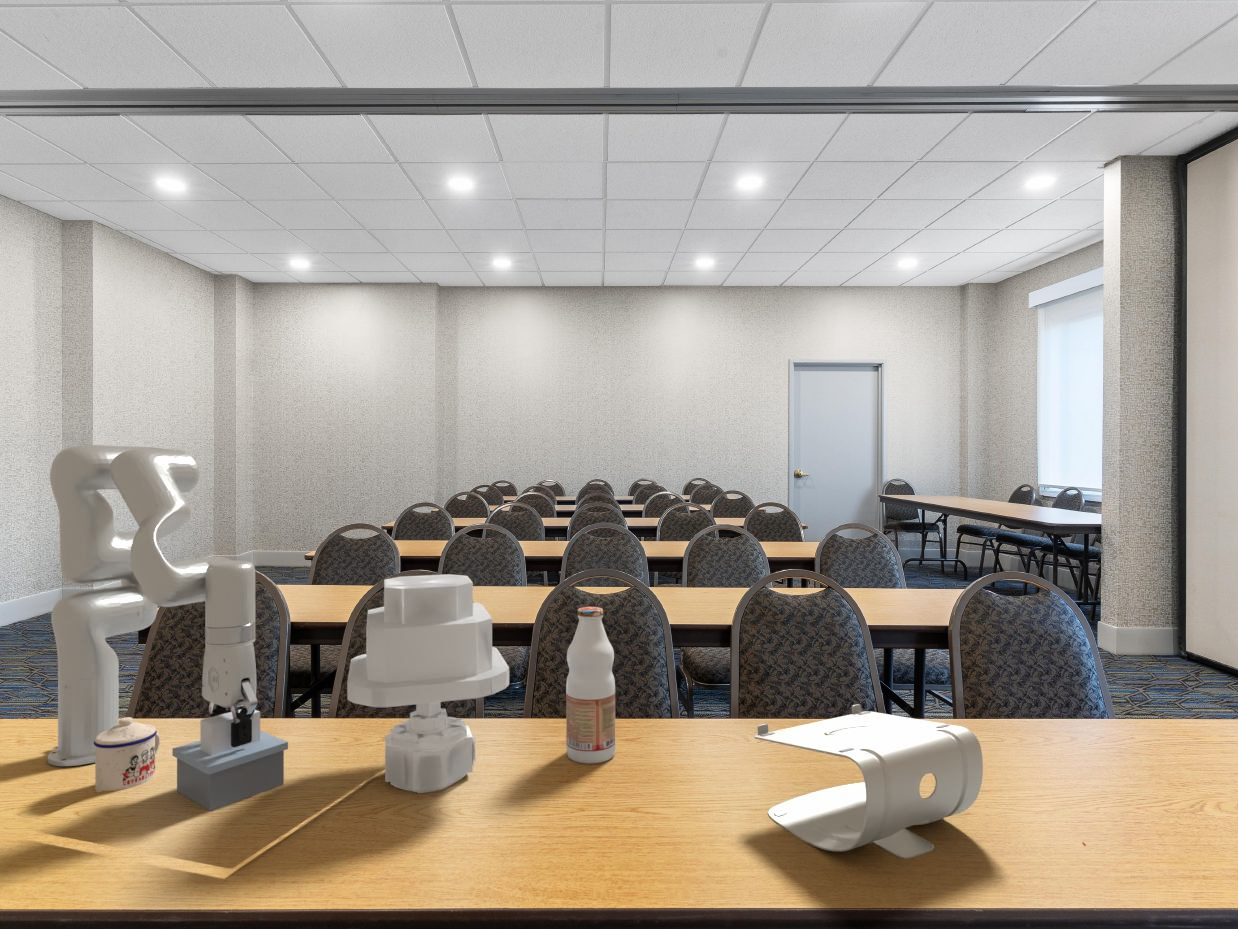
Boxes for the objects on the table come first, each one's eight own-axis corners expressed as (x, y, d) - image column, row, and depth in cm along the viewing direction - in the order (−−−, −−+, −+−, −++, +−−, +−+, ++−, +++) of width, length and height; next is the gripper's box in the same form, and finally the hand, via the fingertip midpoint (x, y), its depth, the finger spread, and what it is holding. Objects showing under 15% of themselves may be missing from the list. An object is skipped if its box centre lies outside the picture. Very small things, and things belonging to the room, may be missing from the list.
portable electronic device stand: (862, 883, 96) (861, 765, 96) (750, 809, 117) (750, 713, 117) (988, 837, 107) (987, 732, 108) (866, 777, 128) (865, 690, 128)
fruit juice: (570, 767, 133) (569, 614, 134) (563, 747, 143) (562, 605, 143) (620, 762, 135) (619, 612, 136) (609, 743, 145) (609, 603, 145)
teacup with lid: (128, 798, 121) (128, 728, 121) (79, 795, 123) (80, 726, 123) (180, 769, 133) (180, 705, 133) (135, 766, 134) (135, 703, 134)
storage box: (177, 797, 122) (177, 755, 122) (248, 773, 131) (248, 734, 131) (210, 817, 115) (210, 773, 115) (283, 790, 124) (283, 749, 124)
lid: (172, 755, 122) (172, 718, 122) (250, 732, 132) (250, 698, 132) (208, 774, 114) (208, 735, 114) (287, 749, 124) (287, 712, 124)
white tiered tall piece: (351, 758, 138) (351, 574, 138) (493, 741, 146) (492, 568, 146) (344, 824, 112) (344, 597, 113) (516, 798, 121) (515, 588, 121)
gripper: (184, 631, 125) (184, 735, 125) (232, 645, 115) (232, 758, 115) (228, 624, 131) (229, 723, 131) (278, 637, 121) (279, 744, 121)
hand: (230, 738), depth 123 cm, fingers open, 6 cm apart
